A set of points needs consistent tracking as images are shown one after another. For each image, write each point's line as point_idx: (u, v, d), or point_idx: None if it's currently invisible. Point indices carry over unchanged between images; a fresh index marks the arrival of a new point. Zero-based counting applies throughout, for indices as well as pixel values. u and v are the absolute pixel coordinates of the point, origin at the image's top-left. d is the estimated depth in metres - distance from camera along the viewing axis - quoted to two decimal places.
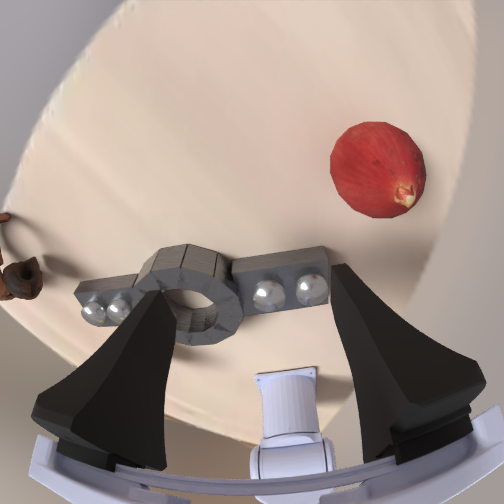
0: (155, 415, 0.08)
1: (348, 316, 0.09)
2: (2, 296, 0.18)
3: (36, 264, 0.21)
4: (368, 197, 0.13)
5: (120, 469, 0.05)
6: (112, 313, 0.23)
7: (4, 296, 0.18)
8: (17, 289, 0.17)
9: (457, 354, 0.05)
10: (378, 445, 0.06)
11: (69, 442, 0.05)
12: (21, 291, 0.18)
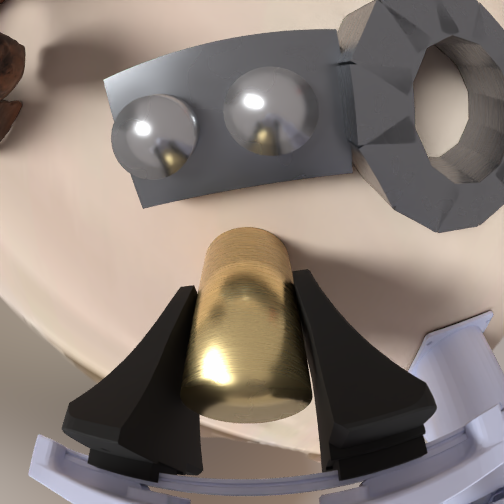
0: (192, 417, 0.08)
1: (304, 324, 0.09)
2: None
3: None
4: None
5: (164, 478, 0.05)
6: (249, 100, 0.06)
7: None
8: None
9: (407, 372, 0.05)
10: (325, 457, 0.06)
11: (103, 453, 0.05)
12: None
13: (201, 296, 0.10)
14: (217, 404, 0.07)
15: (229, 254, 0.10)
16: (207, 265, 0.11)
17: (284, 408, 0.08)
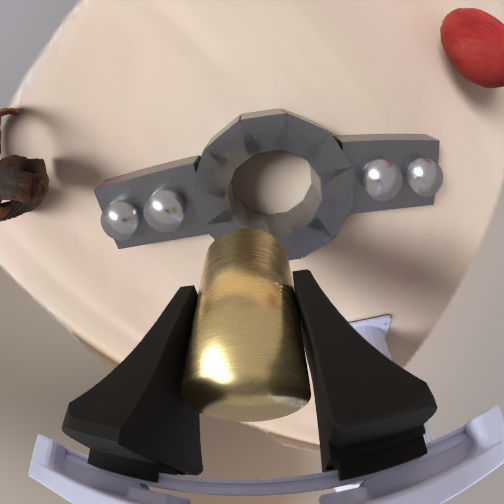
0: (192, 417, 0.08)
1: (304, 324, 0.09)
2: None
3: (43, 167, 0.15)
4: (491, 50, 0.07)
5: (164, 478, 0.05)
6: (153, 210, 0.16)
7: None
8: (11, 183, 0.11)
9: (407, 372, 0.05)
10: (326, 457, 0.06)
11: (103, 453, 0.05)
12: (17, 186, 0.12)
13: (204, 294, 0.10)
14: (217, 401, 0.08)
15: (233, 254, 0.11)
16: (209, 263, 0.11)
17: (282, 407, 0.08)
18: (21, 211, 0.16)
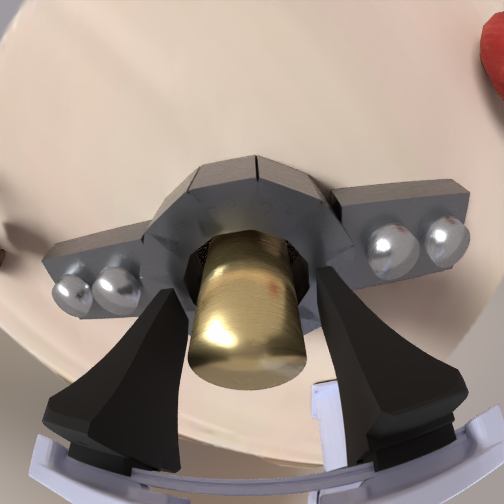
0: (169, 416, 0.08)
1: (331, 319, 0.09)
2: None
3: None
4: None
5: (136, 473, 0.05)
6: (102, 293, 0.12)
7: None
8: None
9: (439, 361, 0.05)
10: (358, 450, 0.06)
11: (81, 446, 0.05)
12: None
13: (209, 269, 0.11)
14: (220, 365, 0.09)
15: (235, 234, 0.12)
16: (214, 244, 0.12)
17: (280, 373, 0.09)
18: None
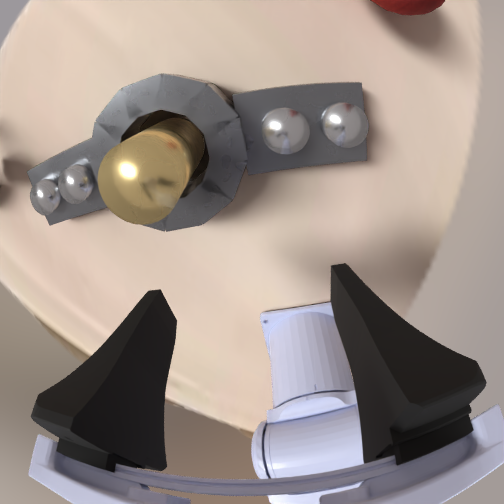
0: (155, 415, 0.08)
1: (348, 316, 0.09)
2: None
3: None
4: None
5: (120, 469, 0.05)
6: (64, 183, 0.15)
7: None
8: None
9: (457, 354, 0.05)
10: (378, 445, 0.06)
11: (69, 442, 0.05)
12: None
13: None
14: (119, 187, 0.11)
15: (156, 124, 0.14)
16: None
17: (162, 195, 0.11)
18: None
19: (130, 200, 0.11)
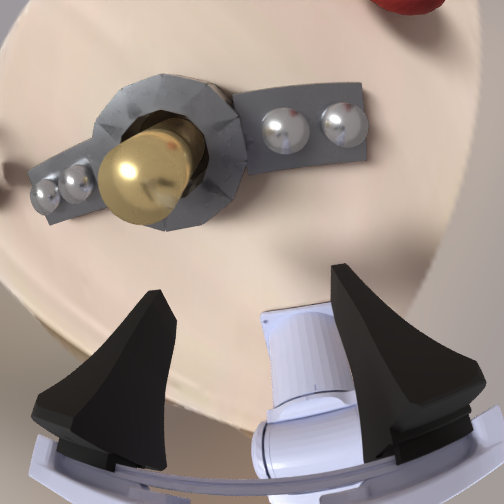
0: (155, 415, 0.08)
1: (348, 316, 0.09)
2: None
3: None
4: None
5: (120, 469, 0.05)
6: (65, 183, 0.15)
7: None
8: None
9: (457, 354, 0.05)
10: (378, 445, 0.06)
11: (69, 442, 0.05)
12: None
13: None
14: (119, 187, 0.11)
15: (156, 124, 0.14)
16: None
17: (163, 195, 0.11)
18: None
19: (130, 201, 0.11)
